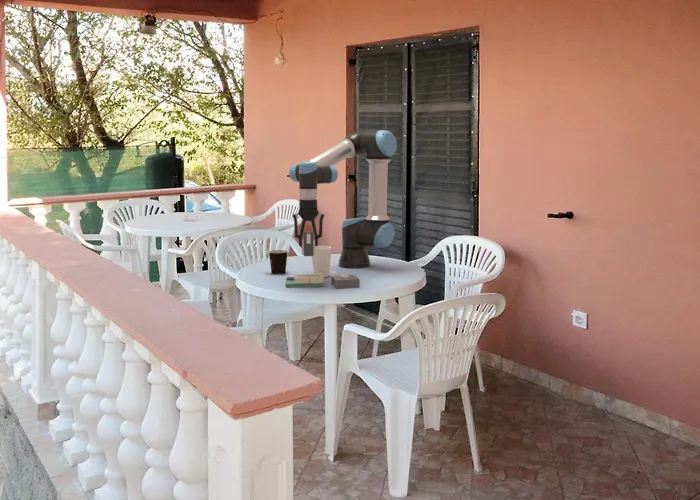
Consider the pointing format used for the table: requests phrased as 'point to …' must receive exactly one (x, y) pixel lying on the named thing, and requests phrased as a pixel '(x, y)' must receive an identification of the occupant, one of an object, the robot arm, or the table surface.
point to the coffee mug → (278, 261)
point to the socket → (309, 278)
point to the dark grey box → (345, 281)
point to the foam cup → (322, 260)
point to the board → (291, 283)
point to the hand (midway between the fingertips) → (308, 253)
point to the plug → (308, 243)
